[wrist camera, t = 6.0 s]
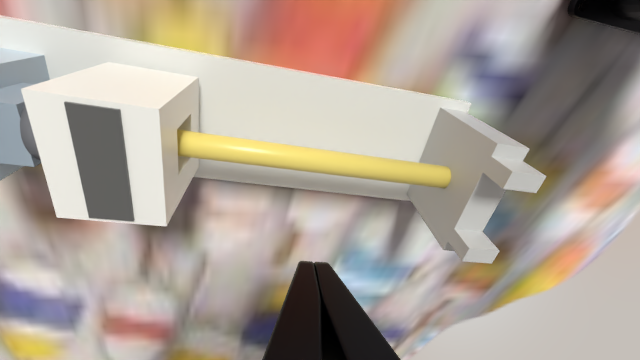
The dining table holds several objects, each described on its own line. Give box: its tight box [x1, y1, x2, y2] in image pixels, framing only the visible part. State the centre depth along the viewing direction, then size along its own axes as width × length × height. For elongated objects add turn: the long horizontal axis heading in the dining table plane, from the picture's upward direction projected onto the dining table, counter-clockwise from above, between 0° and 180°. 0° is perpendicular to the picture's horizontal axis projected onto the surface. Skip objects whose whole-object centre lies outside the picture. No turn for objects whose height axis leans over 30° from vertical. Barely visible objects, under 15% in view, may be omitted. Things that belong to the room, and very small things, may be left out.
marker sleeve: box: [21, 62, 199, 226], centre depth 13 cm, size 4×5×6 cm
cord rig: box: [0, 15, 547, 263], centre depth 14 cm, size 25×7×7 cm, turn 79°
